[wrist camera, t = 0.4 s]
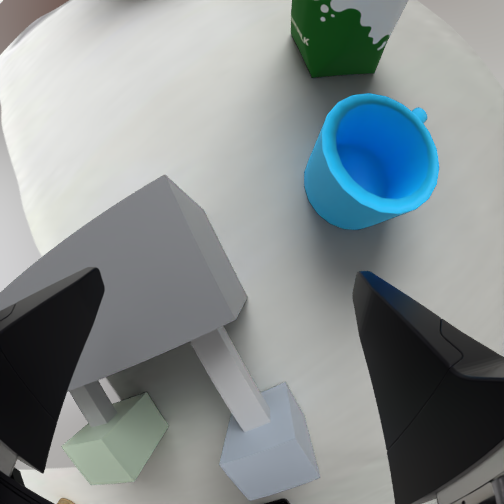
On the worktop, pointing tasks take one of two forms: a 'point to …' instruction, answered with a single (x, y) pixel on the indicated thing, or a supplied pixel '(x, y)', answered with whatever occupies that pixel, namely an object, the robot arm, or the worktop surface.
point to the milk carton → (343, 33)
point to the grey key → (257, 424)
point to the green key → (114, 435)
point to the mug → (370, 162)
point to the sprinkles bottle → (64, 501)
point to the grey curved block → (142, 279)
